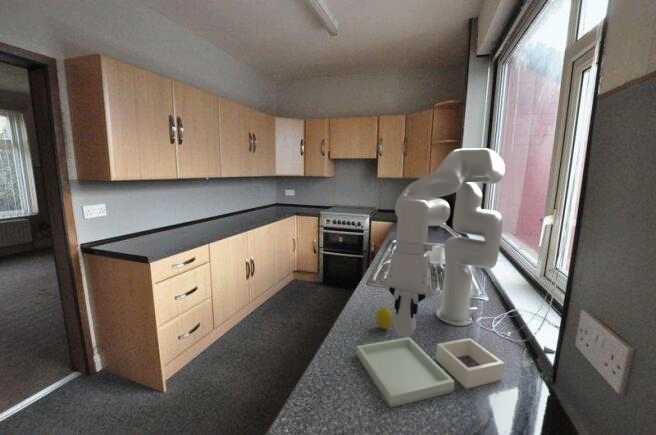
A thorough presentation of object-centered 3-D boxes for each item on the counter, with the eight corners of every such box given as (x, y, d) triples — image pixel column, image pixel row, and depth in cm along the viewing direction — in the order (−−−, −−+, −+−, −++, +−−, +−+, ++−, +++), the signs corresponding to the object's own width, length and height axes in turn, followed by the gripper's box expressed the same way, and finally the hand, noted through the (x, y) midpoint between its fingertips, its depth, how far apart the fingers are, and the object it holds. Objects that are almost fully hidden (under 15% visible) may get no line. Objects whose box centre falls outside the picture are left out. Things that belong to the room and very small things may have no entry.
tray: (408, 345, 91) (409, 337, 91) (453, 391, 72) (454, 381, 72) (356, 355, 86) (357, 345, 85) (390, 407, 67) (391, 396, 66)
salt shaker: (388, 329, 79) (391, 284, 77) (405, 325, 81) (409, 281, 79) (401, 341, 73) (405, 293, 71) (419, 336, 76) (423, 290, 73)
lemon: (391, 334, 97) (393, 312, 96) (375, 331, 98) (376, 310, 97) (391, 325, 103) (392, 304, 101) (375, 323, 104) (377, 303, 103)
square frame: (468, 352, 89) (469, 337, 88) (502, 379, 77) (504, 362, 76) (435, 359, 85) (437, 343, 84) (466, 388, 74) (468, 371, 73)
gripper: (446, 248, 73) (439, 315, 76) (383, 239, 80) (379, 301, 83) (443, 255, 66) (436, 329, 69) (375, 245, 74) (371, 312, 77)
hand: (405, 313), depth 76 cm, fingers closed on salt shaker, 3 cm apart
